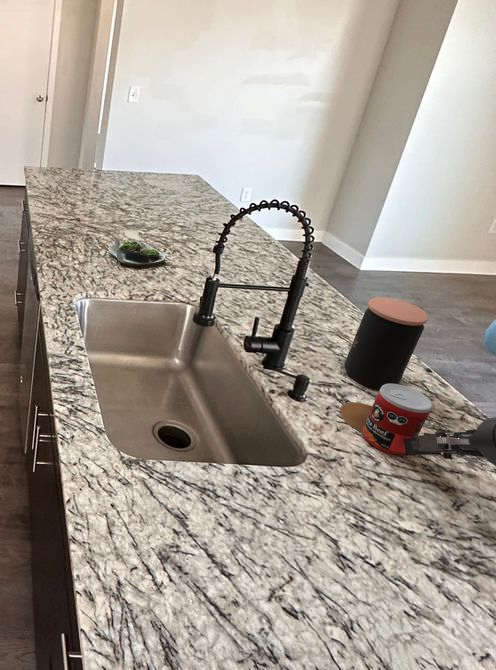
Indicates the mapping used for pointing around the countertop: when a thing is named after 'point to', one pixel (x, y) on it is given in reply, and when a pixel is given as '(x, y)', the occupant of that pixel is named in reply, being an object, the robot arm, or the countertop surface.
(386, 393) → the canned food
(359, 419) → the cork coaster
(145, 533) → the countertop surface
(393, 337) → the coffee jar
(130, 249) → the salad plate
